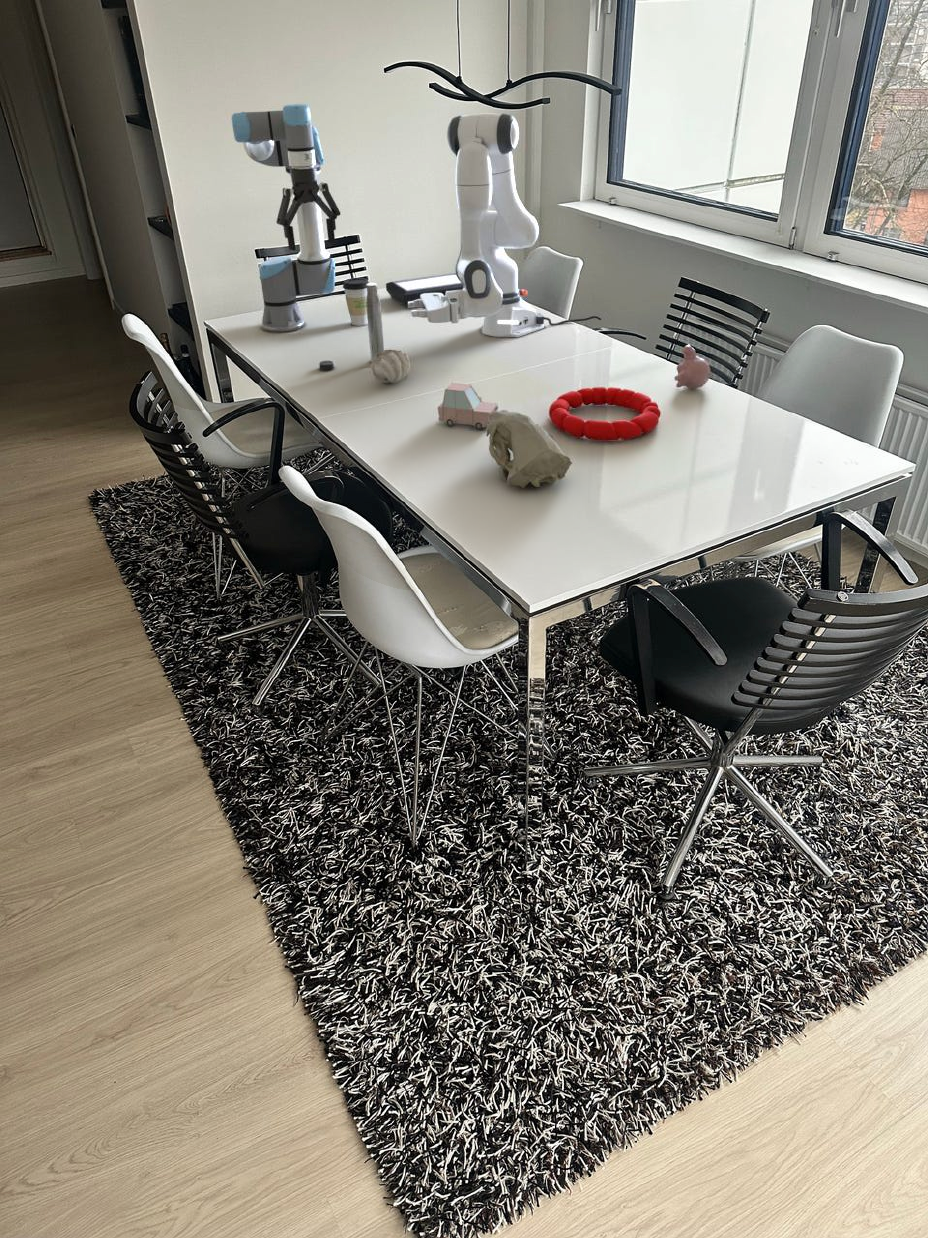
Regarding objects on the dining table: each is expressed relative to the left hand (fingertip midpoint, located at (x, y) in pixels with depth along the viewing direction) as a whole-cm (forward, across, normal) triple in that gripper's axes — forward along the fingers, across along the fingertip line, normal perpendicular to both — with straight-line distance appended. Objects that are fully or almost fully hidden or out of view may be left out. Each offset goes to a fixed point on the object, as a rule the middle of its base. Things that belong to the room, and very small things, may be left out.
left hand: (312, 245), depth 266 cm
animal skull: (+37, -4, -99) cm, 106 cm away
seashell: (+37, +8, -25) cm, 46 cm away
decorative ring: (+37, +33, -91) cm, 104 cm away
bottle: (+37, +16, -5) cm, 41 cm away
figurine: (+37, +70, -90) cm, 120 cm away
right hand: (+22, +27, -11) cm, 36 cm away
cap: (+36, 0, 0) cm, 36 cm away
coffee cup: (+37, +35, +35) cm, 62 cm away
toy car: (+37, +5, -67) cm, 77 cm away
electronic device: (+37, +75, +43) cm, 94 cm away
